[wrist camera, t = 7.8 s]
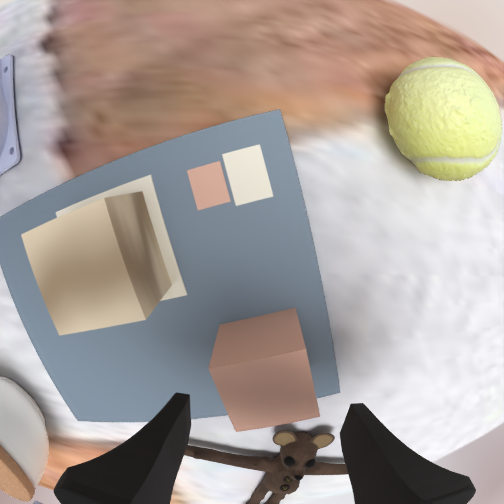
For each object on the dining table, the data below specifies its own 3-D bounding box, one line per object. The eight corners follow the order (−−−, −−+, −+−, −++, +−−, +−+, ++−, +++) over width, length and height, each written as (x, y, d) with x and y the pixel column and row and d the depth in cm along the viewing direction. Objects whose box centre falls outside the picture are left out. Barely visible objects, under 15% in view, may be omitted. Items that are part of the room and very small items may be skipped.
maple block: (67, 220, 16) (20, 234, 12) (142, 191, 16) (103, 197, 11) (96, 302, 18) (59, 335, 13) (172, 285, 17) (145, 319, 13)
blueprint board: (-7, 222, 17) (-12, 224, 16) (279, 111, 15) (280, 108, 15) (80, 416, 21) (77, 421, 21) (338, 387, 19) (340, 393, 19)
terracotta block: (219, 324, 18) (208, 368, 13) (295, 307, 17) (306, 348, 13) (240, 382, 19) (235, 431, 14) (309, 368, 18) (320, 416, 14)
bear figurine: (169, 510, 21) (175, 443, 16) (177, 478, 25) (188, 398, 20) (339, 526, 22) (417, 461, 17) (336, 496, 26) (403, 424, 21)
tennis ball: (535, 179, 9) (502, 43, 8) (426, 199, 11) (384, 40, 9) (475, 170, 15) (451, 70, 14) (386, 185, 17) (359, 78, 15)
